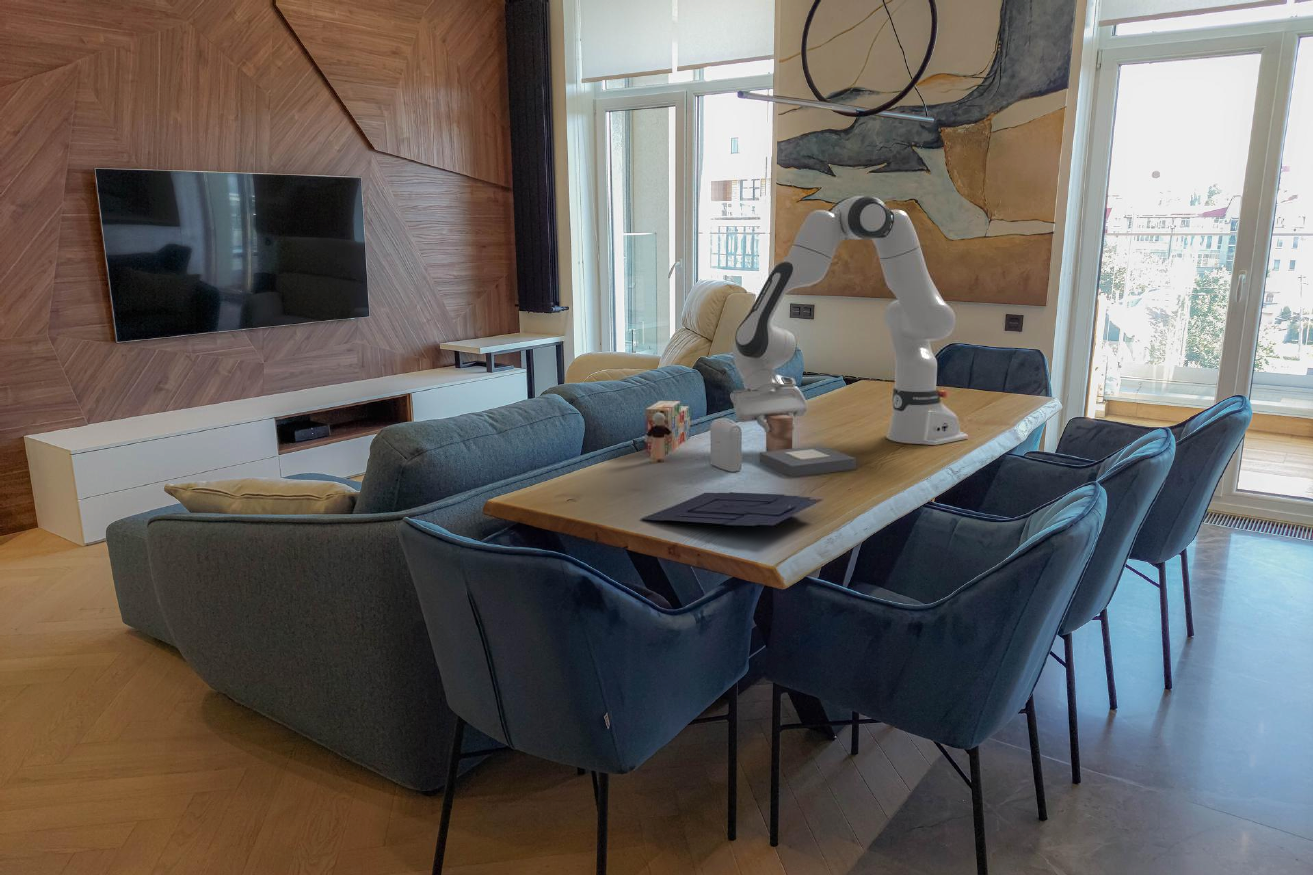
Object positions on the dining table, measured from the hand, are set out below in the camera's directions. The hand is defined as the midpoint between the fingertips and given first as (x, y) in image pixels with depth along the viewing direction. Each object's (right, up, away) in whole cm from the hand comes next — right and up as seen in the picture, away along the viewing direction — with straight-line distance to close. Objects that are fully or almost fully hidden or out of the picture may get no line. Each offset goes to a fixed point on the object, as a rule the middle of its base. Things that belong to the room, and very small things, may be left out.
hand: (780, 430), depth 232 cm
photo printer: (-15, -10, -11) cm, 21 cm away
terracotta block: (0, -6, +2) cm, 6 cm away
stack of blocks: (-29, -4, +15) cm, 33 cm away
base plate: (+5, -9, -11) cm, 15 cm away
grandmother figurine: (-32, -8, -3) cm, 33 cm away
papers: (-17, -19, -52) cm, 58 cm away
